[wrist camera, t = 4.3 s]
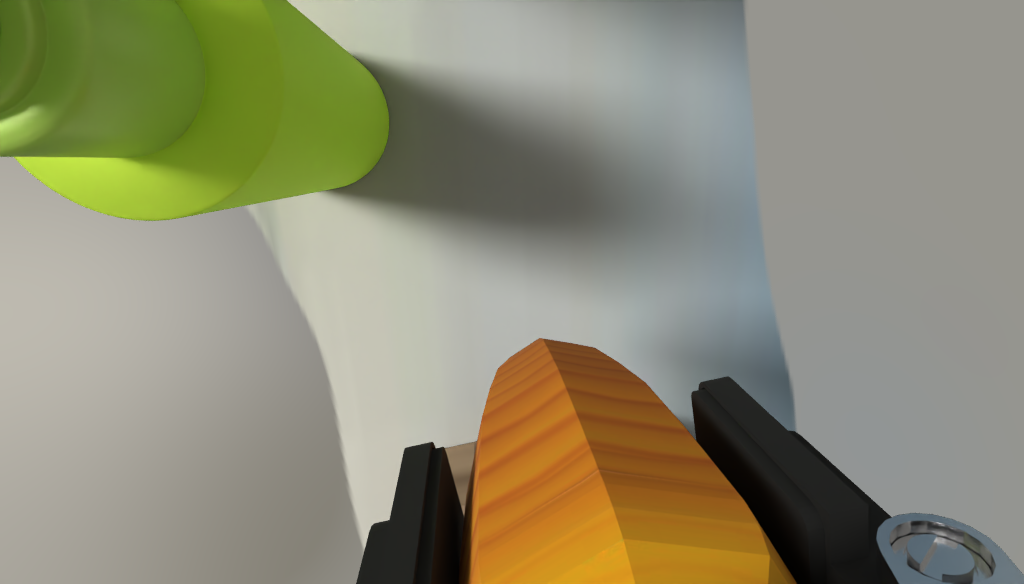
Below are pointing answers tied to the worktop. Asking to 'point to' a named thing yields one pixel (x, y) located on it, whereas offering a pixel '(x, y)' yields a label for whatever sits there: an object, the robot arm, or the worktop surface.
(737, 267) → the worktop surface
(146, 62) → the soap dispenser
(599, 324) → the worktop surface
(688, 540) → the carrot
